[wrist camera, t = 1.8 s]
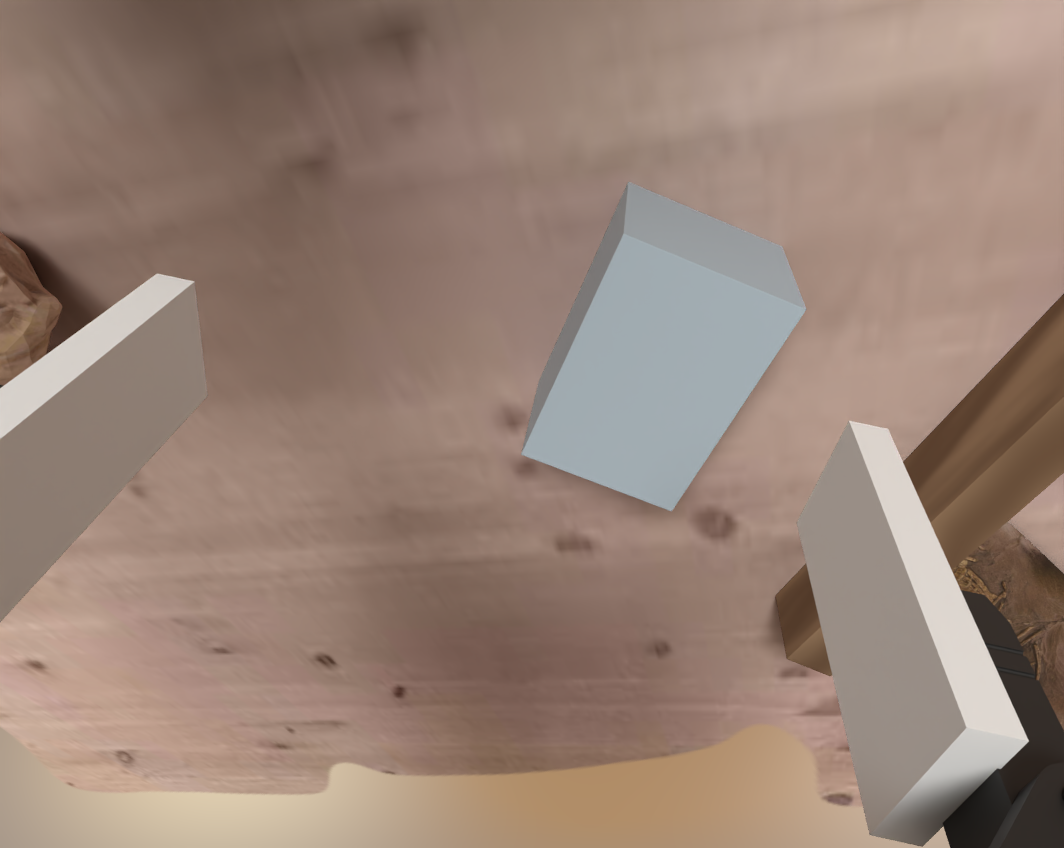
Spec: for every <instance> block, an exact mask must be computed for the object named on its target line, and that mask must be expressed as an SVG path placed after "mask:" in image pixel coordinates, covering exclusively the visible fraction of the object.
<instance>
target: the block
mask: <svg viewBox="0 0 1064 848" xmlns="http://www.w3.org/2000/svg"><path fill="white" fill-rule="evenodd" d="M805 311H806V307H805V304H804V302H803V299H802V297H801V294H800V291H799V289H798V286H797V284H796V281H795V278H794V276H793V273H792V271H791V268H790V266H789V263H788V260H787V258H786V255H785V253H784V250H783V247H782V246H779V245H777V244H775V243H772V242H770V241H768V240H765V239H763V238H761V237H758V236H756V235H753V234H751V233H749V232H746V231H744V230H742V229H739V228H737V227H734V226H732V225H730V224H727V223H725V222H723V221H720V220H718V219H716V218H713V217H711V216H708V215H706V214H704V213H701V212H699V211H697V210H694V209H692V208H689V207H687V206H685V205H682V204H680V203H678V202H675V201H673V200H670V199H668V198H666V197H663V196H661V195H659V194H656V193H654V192H652V191H649V190H647V189H644V188H642V187H640V186H637V185H635V184H633V183H630V182H628V184H627V186H626V188H625V191H624V193H623V195H622V197H621V199H620V202H619V204H618V206H617V208H616V211H615V213H614V215H613V217H612V220H611V222H610V224H609V226H608V228H607V231H606V233H605V235H604V237H603V240H602V242H601V244H600V246H599V249H598V251H597V253H596V255H595V257H594V260H593V262H592V264H591V266H590V269H589V271H588V273H587V275H586V278H585V280H584V282H583V284H582V286H581V289H580V291H579V293H578V295H577V298H576V300H575V302H574V304H573V307H572V309H571V311H570V313H569V315H568V318H567V320H566V322H565V324H564V327H563V329H562V331H561V333H560V336H559V338H558V340H557V342H556V344H555V347H554V349H553V351H552V353H551V356H550V358H549V360H548V362H547V365H546V367H545V369H544V371H543V373H542V376H541V378H540V380H539V383H538V387H537V391H536V395H535V400H534V404H533V408H532V412H531V416H530V420H529V424H528V428H527V432H526V437H525V441H524V445H523V449H522V453H521V455H524V456H526V457H529V458H532V459H534V460H537V461H540V462H542V463H545V464H548V465H550V466H553V467H556V468H558V469H561V470H563V471H566V472H569V473H571V474H574V475H577V476H579V477H582V478H585V479H587V480H590V481H593V482H595V483H598V484H600V485H603V486H606V487H608V488H611V489H614V490H616V491H619V492H622V493H624V494H627V495H630V496H632V497H635V498H637V499H640V500H643V501H645V502H648V503H651V504H653V505H656V506H659V507H661V508H664V509H667V510H669V511H672V510H673V509H674V507H675V506H676V504H677V503H678V501H679V500H680V498H681V497H682V495H683V494H684V492H685V491H686V489H687V488H688V486H689V485H690V483H691V482H692V480H693V479H694V477H695V476H696V474H697V473H698V471H699V470H700V468H701V467H702V465H703V464H704V462H705V461H706V459H707V458H708V456H709V455H710V453H711V452H712V450H713V449H714V447H715V446H716V444H717V443H718V441H719V440H720V438H721V437H722V435H723V434H724V432H725V431H726V429H727V428H728V426H729V425H730V423H731V422H732V420H733V419H734V417H735V416H736V414H737V413H738V411H739V410H740V408H741V407H742V405H743V404H744V402H745V401H746V399H747V398H748V396H749V395H750V393H751V392H752V390H753V389H754V387H755V386H756V384H757V383H758V381H759V380H760V378H761V377H762V375H763V374H764V372H765V371H766V369H767V368H768V366H769V365H770V363H771V362H772V360H773V359H774V357H775V356H776V354H777V353H778V351H779V350H780V348H781V347H782V345H783V344H784V342H785V341H786V339H787V338H788V336H789V335H790V333H791V332H792V330H793V329H794V327H795V326H796V324H797V323H798V321H799V320H800V318H801V317H802V315H803V314H804V312H805Z"/></svg>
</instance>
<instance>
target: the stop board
mask: <svg viewBox="0 0 1064 848" xmlns="http://www.w3.org/2000/svg"><path fill="white" fill-rule="evenodd" d="M903 464H904V466H905V468H906V470H907V472H908V475H909V477H910V479H911V481H912V484H913V486H914V488H915V490H916V492H917V495H918V497H919V499H920V501H921V503H922V506H923V508H924V510H925V512H926V515H927V517H928V519H929V521H930V523H931V526H932V528H933V530H934V532H935V534H936V537H937V539H938V541H939V543H940V546H941V548H942V550H943V552H944V554H945V557H946V559H947V561H948V563H949V565H950V568H951V570H953V569H954V568H955V567H956V566H957V565H958V564H960V563H961V562H962V561H963V560H964V559H965V558H966V557H968V556H969V555H970V554H971V553H972V552H973V551H975V550H976V549H977V548H978V547H979V546H980V545H981V544H983V543H984V542H985V541H986V540H987V539H988V538H989V537H991V536H992V535H993V534H994V533H995V532H996V531H997V530H999V529H1000V528H1001V527H1002V526H1003V525H1004V524H1005V523H1007V522H1008V521H1009V520H1010V519H1011V518H1012V517H1013V516H1015V515H1016V514H1017V513H1018V512H1019V511H1020V510H1021V509H1023V508H1024V507H1025V506H1026V505H1027V504H1028V503H1029V502H1031V501H1032V500H1033V499H1034V498H1035V497H1036V496H1038V495H1039V494H1040V493H1041V492H1042V491H1043V490H1044V489H1046V488H1047V487H1048V486H1049V485H1050V484H1051V483H1052V482H1054V481H1055V480H1056V479H1057V478H1058V477H1059V476H1060V475H1062V474H1063V473H1064V294H1063V296H1062V297H1061V298H1060V299H1059V300H1058V301H1057V302H1056V303H1055V304H1054V305H1053V306H1052V307H1051V308H1050V309H1049V310H1048V311H1047V312H1046V313H1045V314H1044V315H1043V316H1042V317H1041V319H1040V320H1039V321H1038V322H1037V323H1036V324H1035V325H1034V326H1033V327H1032V328H1031V329H1030V330H1029V331H1028V332H1027V333H1026V334H1025V335H1024V336H1023V337H1022V338H1021V339H1020V341H1019V342H1018V343H1017V344H1016V345H1015V346H1014V347H1013V348H1012V349H1011V350H1010V351H1009V352H1008V353H1007V354H1006V355H1005V356H1004V357H1003V358H1002V359H1001V360H1000V361H999V362H998V364H997V365H996V366H995V367H994V368H993V369H992V370H991V371H990V372H989V373H988V374H987V375H986V376H985V377H984V378H983V379H982V380H981V381H980V382H979V383H978V384H977V386H976V387H975V388H974V389H973V390H972V391H971V392H970V393H969V394H968V395H967V396H966V397H965V398H964V399H963V400H962V401H961V402H960V403H959V404H958V405H957V406H956V407H955V409H954V410H953V411H952V412H951V413H950V414H949V415H948V416H947V417H946V418H945V419H944V420H943V421H942V422H941V423H940V424H939V425H938V426H937V427H936V428H935V429H934V431H933V432H932V433H931V434H930V435H929V436H928V437H927V438H926V439H925V440H924V441H923V442H922V443H921V444H920V445H919V446H918V447H917V448H916V449H915V450H914V451H913V452H912V454H911V455H910V456H909V457H908V458H907V459H906V460H905V461H904V462H903ZM776 601H777V607H778V612H779V618H780V623H781V629H782V635H783V640H784V646H785V651H786V657H787V659H788V660H791V661H793V662H796V663H798V664H801V665H803V666H806V667H808V668H811V669H813V670H816V671H818V672H821V673H823V674H826V675H828V676H831V675H832V672H831V667H830V663H829V659H828V654H827V650H826V646H825V642H824V637H823V633H822V629H821V625H820V620H819V616H818V612H817V607H816V603H815V599H814V595H813V590H812V586H811V582H810V577H809V573H808V569H807V565H806V564H805V566H804V567H803V568H802V569H801V570H800V571H799V572H798V573H797V574H796V575H795V576H794V577H793V578H792V579H791V580H790V581H789V582H788V583H787V584H786V585H785V586H784V587H783V589H782V590H781V591H780V592H779V593H778V594H777V595H776Z"/></svg>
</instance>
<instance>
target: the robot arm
mask: <svg viewBox="0 0 1064 848" xmlns="http://www.w3.org/2000/svg"><path fill="white" fill-rule="evenodd" d="M207 396H208V393H207V385H206V376H205V367H204V358H203V350H202V341H201V332H200V323H199V315H198V306H197V297H196V288H195V281H190V280H185V279H181V278H176V277H171V276H167V275H162V274H156V275H154V276H153V277H152V278H150V279H149V280H147V281H146V282H145V283H143V284H142V285H141V286H139V287H138V288H137V289H135V290H134V291H132V292H131V293H130V294H128V295H127V296H126V297H124V298H123V299H122V300H120V301H119V302H117V303H116V304H115V305H113V306H112V307H111V308H109V309H108V310H107V311H105V312H104V313H102V314H101V315H100V316H98V317H97V318H96V319H94V320H93V321H92V322H90V323H89V324H87V325H86V326H85V327H83V328H82V329H81V330H79V331H78V332H76V333H75V334H74V335H72V336H71V337H70V338H68V339H67V340H66V341H64V342H63V343H61V344H60V345H59V346H57V347H56V348H55V349H53V350H52V351H51V352H49V353H48V354H46V355H45V356H44V357H42V358H41V359H40V360H38V361H37V362H36V363H34V364H33V365H31V366H30V367H29V368H27V369H26V370H25V371H23V372H22V373H21V374H19V375H18V376H16V377H15V378H14V379H12V380H11V381H10V382H8V383H7V384H5V385H0V622H1V621H2V620H3V619H4V618H5V616H6V615H7V614H8V613H9V612H10V611H11V610H12V609H13V608H14V607H15V606H16V605H17V603H18V602H19V601H20V600H21V599H22V598H23V597H24V596H25V595H26V594H27V593H28V591H29V590H30V589H31V588H32V587H33V586H34V585H35V584H36V583H37V582H38V581H39V579H40V578H41V577H42V576H43V575H44V574H45V573H46V572H47V571H48V570H49V569H50V567H51V566H52V565H53V564H54V563H55V562H56V561H57V560H58V559H59V558H60V557H61V555H62V554H63V553H64V552H65V551H66V550H67V549H68V548H69V547H70V546H71V545H72V543H73V542H74V541H75V540H76V539H77V538H78V537H79V536H80V535H81V534H82V533H83V531H84V530H85V529H86V528H87V527H88V526H89V525H90V524H91V523H92V522H93V521H94V519H95V518H96V517H97V516H98V515H99V514H100V513H101V512H102V511H103V510H104V509H105V507H106V506H107V505H108V504H109V503H110V502H111V501H112V500H113V499H114V498H115V497H116V495H117V494H118V493H119V492H120V491H121V490H122V489H123V488H124V487H125V486H126V485H127V483H128V482H129V481H130V480H131V479H132V478H133V477H134V476H135V475H136V474H137V473H138V471H139V470H140V469H141V468H142V467H143V466H144V465H145V464H146V463H147V462H148V461H149V459H150V458H151V457H152V456H153V455H154V454H155V453H156V452H157V451H158V450H159V449H160V447H161V446H162V445H163V444H164V443H165V442H166V441H167V440H168V439H169V438H170V437H171V435H172V434H173V433H174V432H175V431H176V430H177V429H178V428H179V427H180V426H181V425H182V423H183V422H184V421H185V420H186V419H187V418H188V417H189V416H190V415H191V414H192V413H193V411H194V410H195V409H196V408H197V407H198V406H199V405H200V404H201V403H202V402H203V401H204V400H205V398H206V397H207ZM797 526H798V530H799V535H800V539H801V543H802V548H803V552H804V556H805V560H806V565H807V569H808V573H809V577H810V582H811V586H812V590H813V595H814V599H815V603H816V607H817V612H818V616H819V620H820V625H821V629H822V633H823V637H824V642H825V646H826V650H827V654H828V659H829V663H830V667H831V672H832V676H833V680H834V684H835V689H836V693H837V697H838V702H839V706H840V710H841V714H842V719H843V723H844V727H845V731H846V736H847V740H848V744H849V749H850V753H851V757H852V761H853V766H854V770H855V774H856V778H857V783H858V787H859V791H860V796H861V800H862V804H863V808H864V813H865V817H866V821H867V825H868V830H869V834H870V835H872V836H877V837H881V838H886V839H890V840H895V841H900V842H904V843H908V844H913V845H917V846H924V845H925V843H926V842H928V841H929V839H931V838H932V837H933V836H934V835H935V834H936V833H937V832H938V831H939V830H940V829H941V828H942V827H943V826H944V829H945V832H946V835H947V838H948V841H949V845H950V848H1064V730H1063V728H1062V726H1061V724H1060V722H1059V720H1058V718H1057V716H1056V714H1055V712H1054V710H1053V708H1052V706H1051V704H1050V702H1049V700H1048V698H1047V696H1046V694H1045V692H1044V690H1043V688H1042V686H1041V684H1040V682H1039V680H1035V675H1036V674H1035V672H1034V670H1033V668H1032V666H1031V664H1030V662H1029V660H1028V658H1027V657H1026V656H1023V652H1024V650H1023V648H1022V646H1021V644H1020V642H1019V640H1018V638H1017V636H1016V634H1015V632H1014V630H1013V628H1012V626H1011V624H1010V622H1009V621H1008V620H1007V619H1006V618H1005V617H1004V616H1003V615H1002V613H1001V612H1000V611H999V610H998V609H997V608H996V607H995V606H994V605H993V604H992V602H991V601H990V600H989V599H988V598H987V597H986V596H985V595H982V594H977V593H973V592H968V591H964V590H960V588H959V585H958V583H957V581H956V579H955V577H954V574H953V572H952V570H951V568H950V565H949V563H948V561H947V559H946V557H945V554H944V552H943V550H942V548H941V546H940V543H939V541H938V539H937V537H936V534H935V532H934V530H933V528H932V526H931V523H930V521H929V519H928V517H927V515H926V512H925V510H924V508H923V506H922V503H921V501H920V499H919V497H918V495H917V492H916V490H915V488H914V486H913V484H912V481H911V479H910V477H909V475H908V472H907V470H906V468H905V466H904V464H903V461H902V459H901V457H900V455H899V453H898V450H897V448H896V446H895V444H894V441H893V439H892V437H891V435H890V433H889V430H888V429H886V428H881V427H877V426H872V425H867V424H863V423H858V422H853V421H849V422H848V424H847V426H846V428H845V430H844V431H843V433H842V435H841V437H840V439H839V441H838V443H837V445H836V447H835V449H834V451H833V453H832V455H831V457H830V459H829V461H828V463H827V465H826V466H825V468H824V470H823V472H822V474H821V476H820V478H819V480H818V482H817V484H816V486H815V488H814V490H813V492H812V494H811V496H810V498H809V499H808V501H807V503H806V505H805V507H804V509H803V511H802V513H801V515H800V517H799V519H798V521H797Z"/></svg>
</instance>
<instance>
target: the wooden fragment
mask: <svg viewBox="0 0 1064 848" xmlns="http://www.w3.org/2000/svg"><path fill="white" fill-rule="evenodd" d="M952 572H953V574H954V577H955V579H956V581H957V583H958V585H959V588H960V590H964V591H968V592H973V593H977V594H982V595H985V596H986V597H987V598H988V599H989V600H990V601H991V602H992V604H993V605H994V606H995V607H996V608H997V609H998V610H999V611H1000V612H1001V613H1002V615H1003V616H1004V617H1005V618H1006V619H1007V620H1008V621H1009V622H1010V624H1011V626H1012V628H1013V630H1014V632H1015V634H1016V636H1017V638H1018V640H1019V642H1020V644H1021V646H1022V648H1023V650H1024V652H1023V656H1026V657H1027V658H1028V660H1029V662H1030V664H1031V666H1032V668H1033V670H1034V672H1035V674H1036V675H1035V680H1039V682H1040V684H1041V686H1042V688H1043V690H1044V692H1045V694H1046V696H1047V698H1048V700H1049V702H1050V704H1051V706H1052V708H1053V710H1054V712H1055V714H1056V716H1057V718H1058V720H1059V722H1060V724H1061V726H1062V728H1063V730H1064V574H1063V573H1062V572H1061V571H1060V570H1059V569H1058V568H1057V567H1056V566H1055V565H1054V564H1053V563H1052V562H1051V561H1050V560H1048V559H1047V557H1046V556H1045V555H1043V554H1042V553H1041V552H1040V551H1039V550H1038V549H1037V548H1036V547H1034V546H1033V544H1031V542H1030V541H1029V540H1026V539H1025V537H1024V536H1023V535H1022V534H1021V533H1020V532H1019V531H1018V530H1017V529H1015V528H1014V527H1013V526H1012V525H1011V524H1009V523H1008V522H1007V523H1005V524H1004V525H1003V526H1002V527H1001V528H1000V529H999V530H997V531H996V532H995V533H994V534H993V535H992V536H991V537H989V538H988V539H987V540H986V541H985V542H984V543H983V544H981V545H980V546H979V547H978V548H977V549H976V550H975V551H973V552H972V553H971V554H970V555H969V556H968V557H966V558H965V559H964V560H963V561H962V562H961V563H960V564H958V565H957V566H956V567H955V568H954V569H953V570H952Z"/></svg>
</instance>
